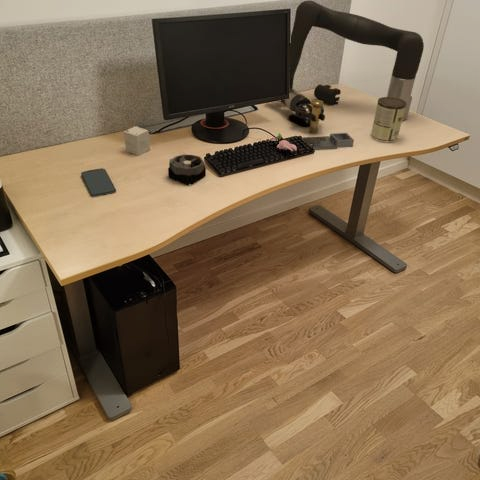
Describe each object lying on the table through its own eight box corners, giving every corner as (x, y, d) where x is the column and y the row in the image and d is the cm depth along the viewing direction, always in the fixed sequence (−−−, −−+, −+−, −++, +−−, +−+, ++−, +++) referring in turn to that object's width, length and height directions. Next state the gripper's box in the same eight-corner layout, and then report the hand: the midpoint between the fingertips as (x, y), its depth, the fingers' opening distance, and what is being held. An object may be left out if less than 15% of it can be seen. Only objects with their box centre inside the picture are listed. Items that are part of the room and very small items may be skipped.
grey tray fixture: (344, 137, 176) (345, 131, 175) (354, 147, 169) (355, 141, 168) (298, 140, 173) (298, 133, 171) (305, 150, 166) (306, 143, 164)
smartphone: (90, 195, 133) (80, 171, 143) (91, 200, 134) (80, 176, 144) (117, 190, 136) (104, 167, 146) (117, 195, 137) (105, 171, 147)
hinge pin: (316, 129, 182) (320, 99, 175) (320, 134, 178) (325, 103, 171) (306, 130, 181) (309, 99, 174) (309, 134, 177) (313, 104, 170)
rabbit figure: (262, 147, 170) (287, 157, 158) (262, 131, 167) (287, 140, 155) (276, 144, 172) (301, 153, 161) (276, 128, 170) (302, 136, 158)
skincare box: (150, 150, 161) (149, 130, 156) (138, 156, 157) (136, 135, 152) (137, 145, 163) (136, 125, 159) (125, 151, 159) (123, 131, 155)
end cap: (312, 100, 211) (314, 85, 207) (323, 97, 214) (326, 82, 210) (328, 106, 204) (330, 91, 200) (339, 104, 208) (342, 89, 204)
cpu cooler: (210, 159, 144) (190, 171, 137) (209, 175, 148) (190, 188, 140) (183, 150, 149) (163, 162, 142) (184, 166, 152) (164, 178, 145)
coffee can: (373, 130, 184) (380, 95, 176) (399, 135, 180) (408, 99, 172) (367, 139, 176) (375, 103, 168) (395, 145, 173) (404, 108, 165)
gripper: (283, 95, 182) (304, 110, 169) (314, 92, 186) (337, 107, 174) (281, 114, 186) (301, 130, 173) (311, 110, 191) (334, 126, 178)
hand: (319, 118), depth 174 cm, fingers closed on hinge pin, 3 cm apart
